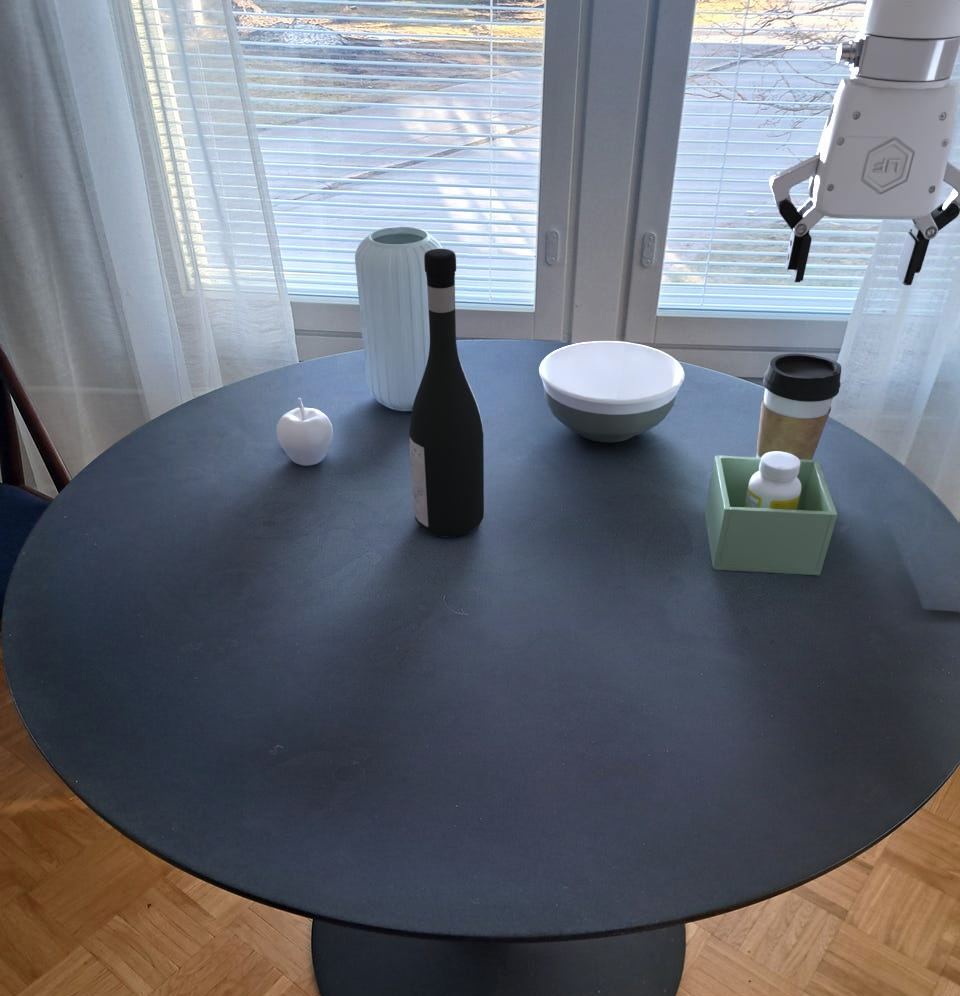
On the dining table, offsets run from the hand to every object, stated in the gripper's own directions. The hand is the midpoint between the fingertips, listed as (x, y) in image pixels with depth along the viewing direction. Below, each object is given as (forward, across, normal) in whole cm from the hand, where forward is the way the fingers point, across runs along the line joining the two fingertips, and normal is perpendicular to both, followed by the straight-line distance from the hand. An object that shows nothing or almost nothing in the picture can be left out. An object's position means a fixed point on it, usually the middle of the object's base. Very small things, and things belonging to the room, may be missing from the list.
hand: (848, 278), depth 83 cm
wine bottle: (+28, -38, -1) cm, 47 cm away
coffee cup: (+28, +1, +12) cm, 31 cm away
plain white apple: (+28, -58, +12) cm, 66 cm away
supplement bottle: (+28, -3, -2) cm, 28 cm away
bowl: (+28, -20, +24) cm, 42 cm away
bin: (+28, -3, -2) cm, 29 cm away
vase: (+28, -48, +30) cm, 63 cm away
